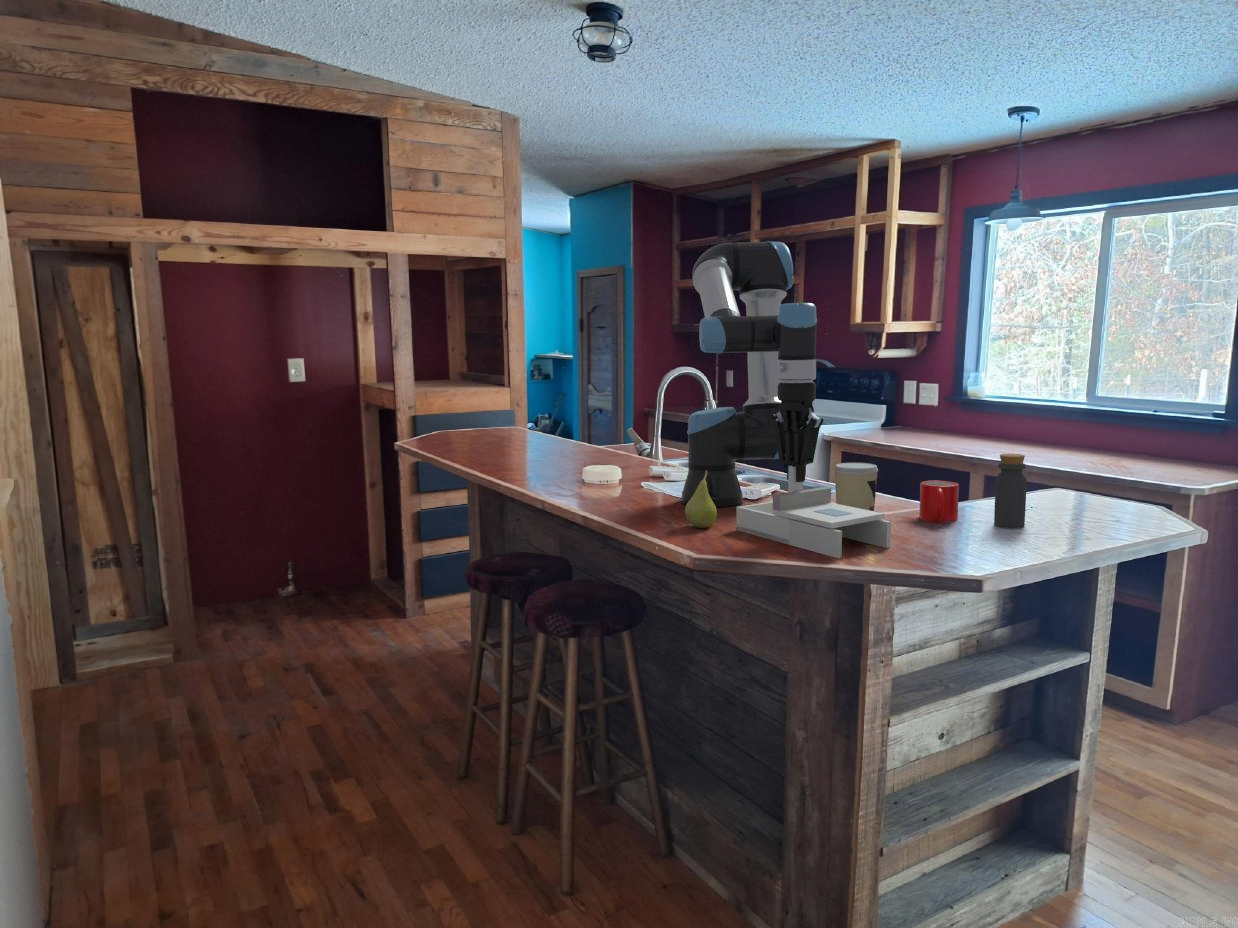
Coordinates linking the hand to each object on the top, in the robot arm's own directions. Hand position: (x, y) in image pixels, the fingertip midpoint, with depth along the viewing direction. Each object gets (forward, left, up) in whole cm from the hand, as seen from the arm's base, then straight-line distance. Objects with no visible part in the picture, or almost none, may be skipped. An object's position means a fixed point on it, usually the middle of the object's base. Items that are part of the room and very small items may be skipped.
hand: (795, 497), depth 171 cm
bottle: (+20, +41, -8) cm, 47 cm away
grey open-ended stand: (+4, 0, -8) cm, 9 cm away
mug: (+8, +34, -8) cm, 36 cm away
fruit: (-18, -11, -8) cm, 22 cm away
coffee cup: (-4, +21, -8) cm, 23 cm away
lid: (+9, 0, -3) cm, 9 cm away
